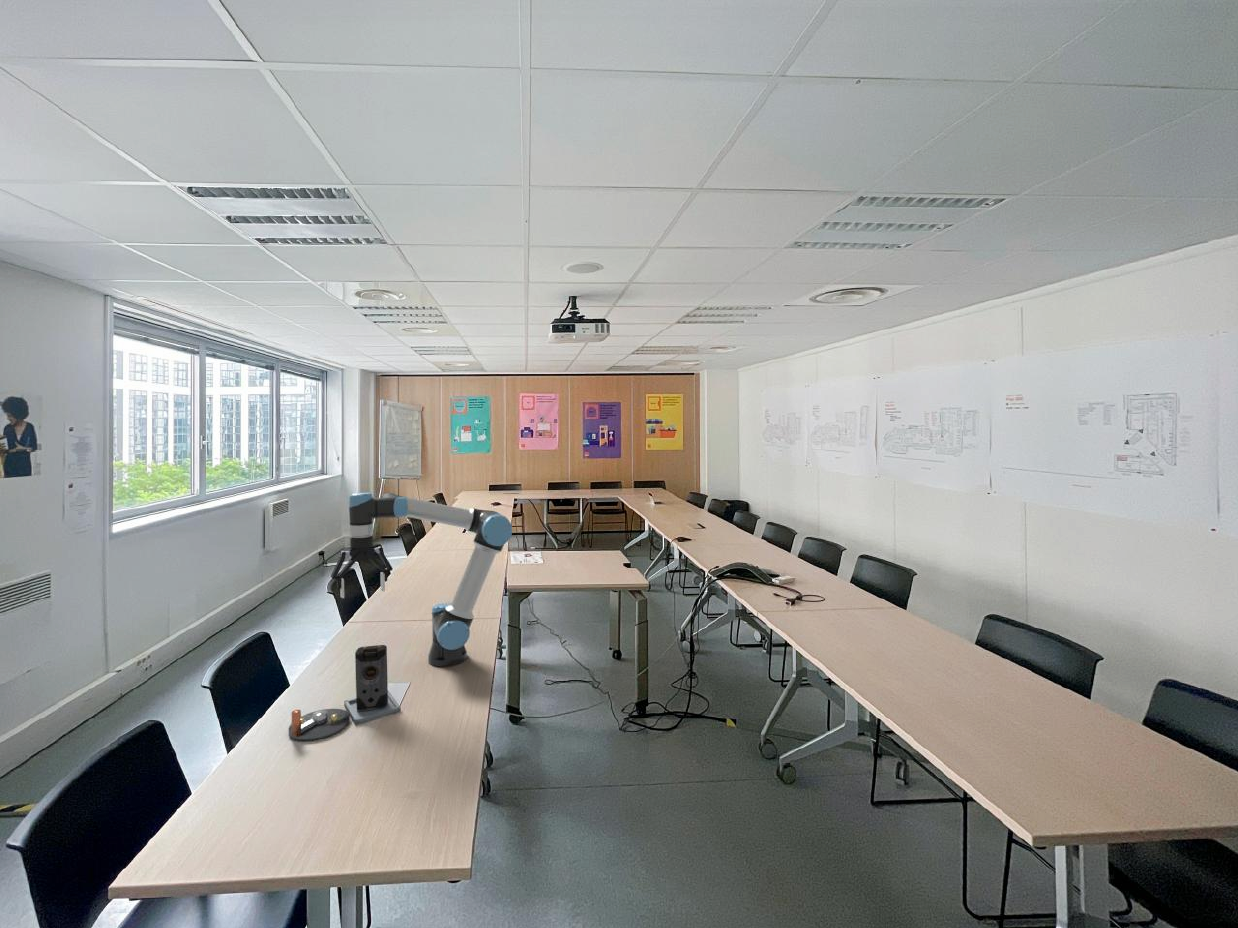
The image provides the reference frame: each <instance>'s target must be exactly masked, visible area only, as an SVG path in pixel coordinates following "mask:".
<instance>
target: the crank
mask: <svg viewBox="0 0 1238 928" xmlns="http://www.w3.org/2000/svg"><path fill="white" fill-rule="evenodd" d="M320 710H321V711H319V710H316V711H317V712H315V711H314V712H315V713H313V714H312V719H311V720H309V721H307V722H305V723H303V724H301V717H302V711H301V709H295V710H292V711H291V724H292V736H299V735H300V734H301V732H303V731H305V730H306V729H308V728H310V727H312V726H313V725H320V724H323V723H325V722H327V720H328V712H327V711H325V710H324V709H320Z"/></svg>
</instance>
